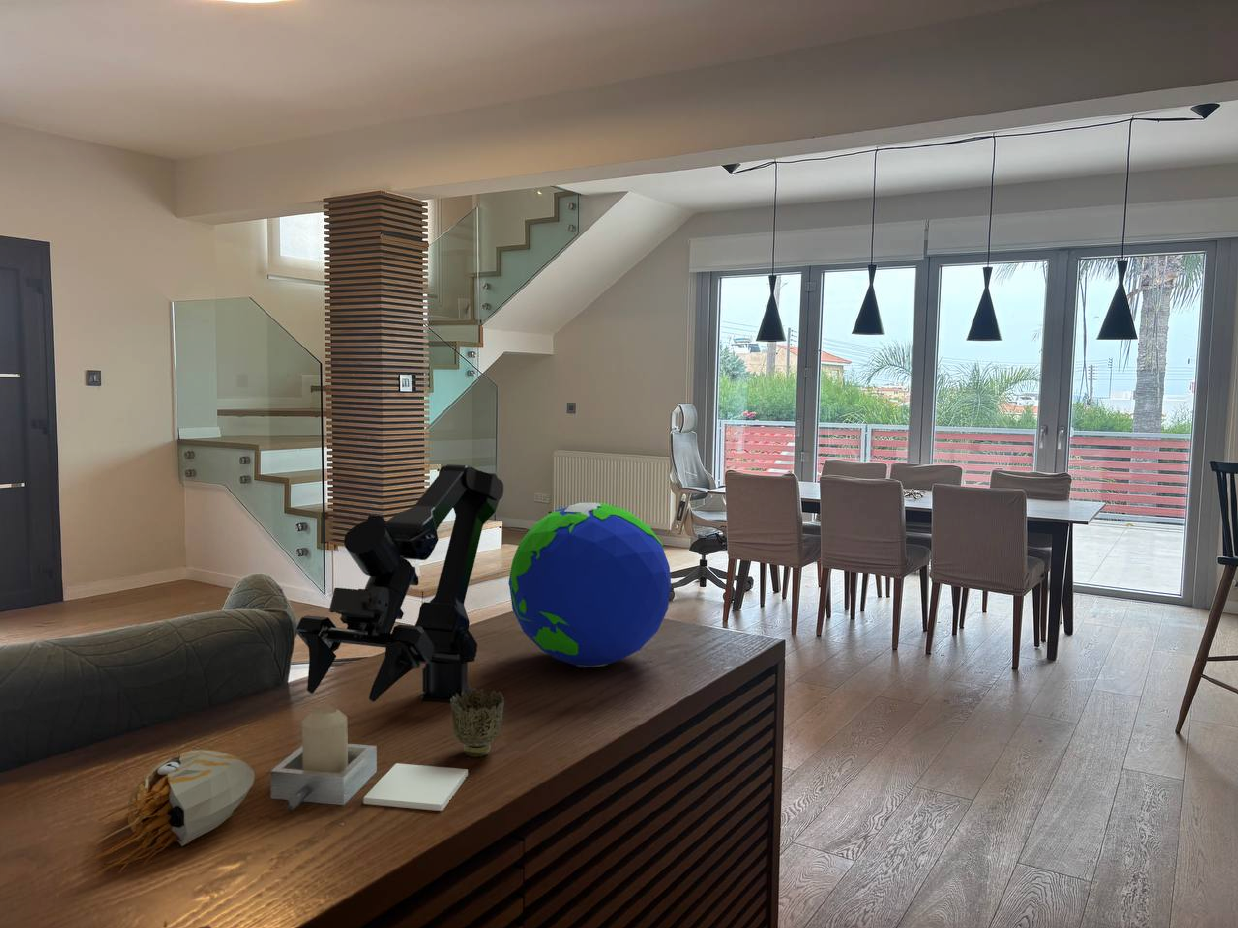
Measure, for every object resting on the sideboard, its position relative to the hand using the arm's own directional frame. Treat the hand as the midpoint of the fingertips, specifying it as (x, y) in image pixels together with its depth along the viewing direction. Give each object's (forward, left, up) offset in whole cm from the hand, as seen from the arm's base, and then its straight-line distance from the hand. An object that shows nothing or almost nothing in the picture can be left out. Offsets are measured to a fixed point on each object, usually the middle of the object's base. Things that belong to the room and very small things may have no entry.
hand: (340, 696), depth 117 cm
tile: (-12, +2, -10) cm, 16 cm away
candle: (0, +3, -11) cm, 11 cm away
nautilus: (+12, +18, -11) cm, 24 cm away
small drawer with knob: (0, +5, -10) cm, 12 cm away
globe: (-24, -52, -11) cm, 58 cm away
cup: (-16, -10, -11) cm, 21 cm away
